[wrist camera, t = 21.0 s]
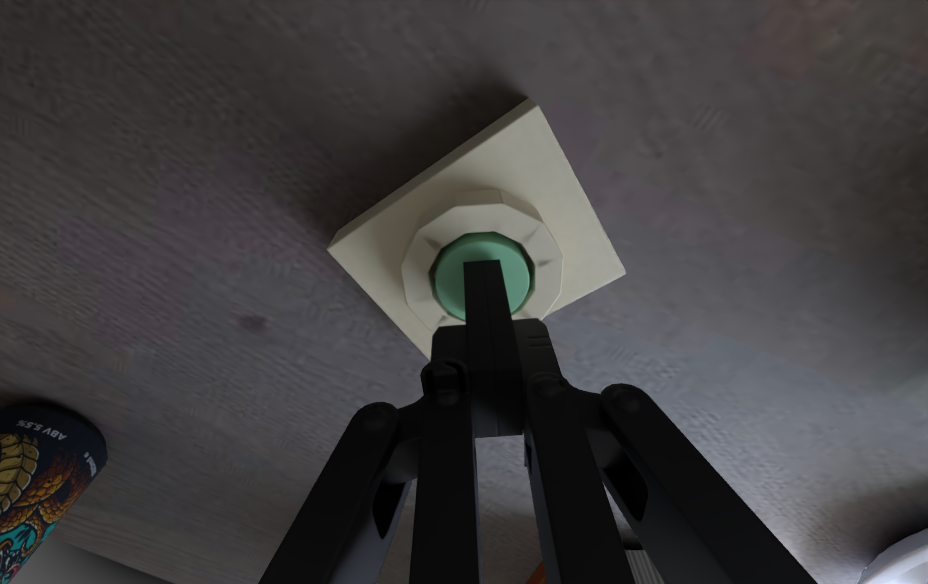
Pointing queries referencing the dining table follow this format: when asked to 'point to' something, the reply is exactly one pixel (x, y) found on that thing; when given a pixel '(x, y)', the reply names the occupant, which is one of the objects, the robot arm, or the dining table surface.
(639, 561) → the book
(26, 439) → the beverage can
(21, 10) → the dining table surface
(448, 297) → the light button
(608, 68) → the dining table surface
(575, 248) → the switch box
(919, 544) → the candlestick
